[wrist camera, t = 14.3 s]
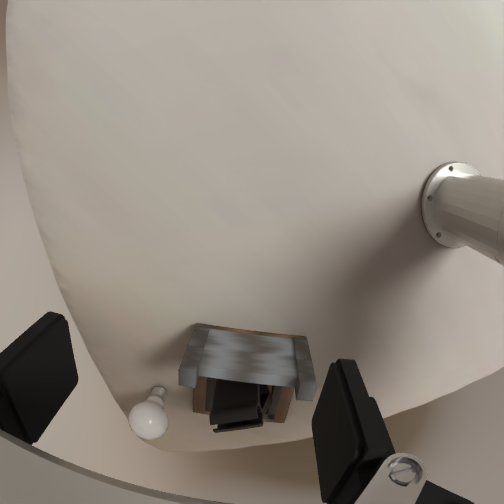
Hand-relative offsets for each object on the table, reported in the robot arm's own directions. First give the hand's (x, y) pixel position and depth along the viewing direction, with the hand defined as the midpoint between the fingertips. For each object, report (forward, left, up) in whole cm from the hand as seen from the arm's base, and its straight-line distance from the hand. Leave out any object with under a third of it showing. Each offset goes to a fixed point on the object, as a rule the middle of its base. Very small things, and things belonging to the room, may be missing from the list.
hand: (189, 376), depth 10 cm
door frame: (-3, +26, -32) cm, 42 cm away
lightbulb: (+11, +32, -32) cm, 47 cm away
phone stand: (-3, +25, -30) cm, 39 cm away
